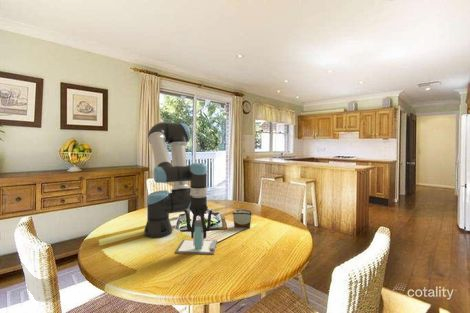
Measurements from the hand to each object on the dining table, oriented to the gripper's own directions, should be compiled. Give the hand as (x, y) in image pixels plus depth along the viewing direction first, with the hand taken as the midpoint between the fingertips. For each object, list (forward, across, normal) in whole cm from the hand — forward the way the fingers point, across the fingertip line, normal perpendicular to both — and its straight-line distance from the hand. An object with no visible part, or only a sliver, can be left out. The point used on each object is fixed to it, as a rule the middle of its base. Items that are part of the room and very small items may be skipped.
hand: (198, 244), depth 113 cm
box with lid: (+2, 0, 0) cm, 2 cm away
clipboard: (+3, -2, +4) cm, 5 cm away
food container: (+3, +20, +34) cm, 40 cm away
